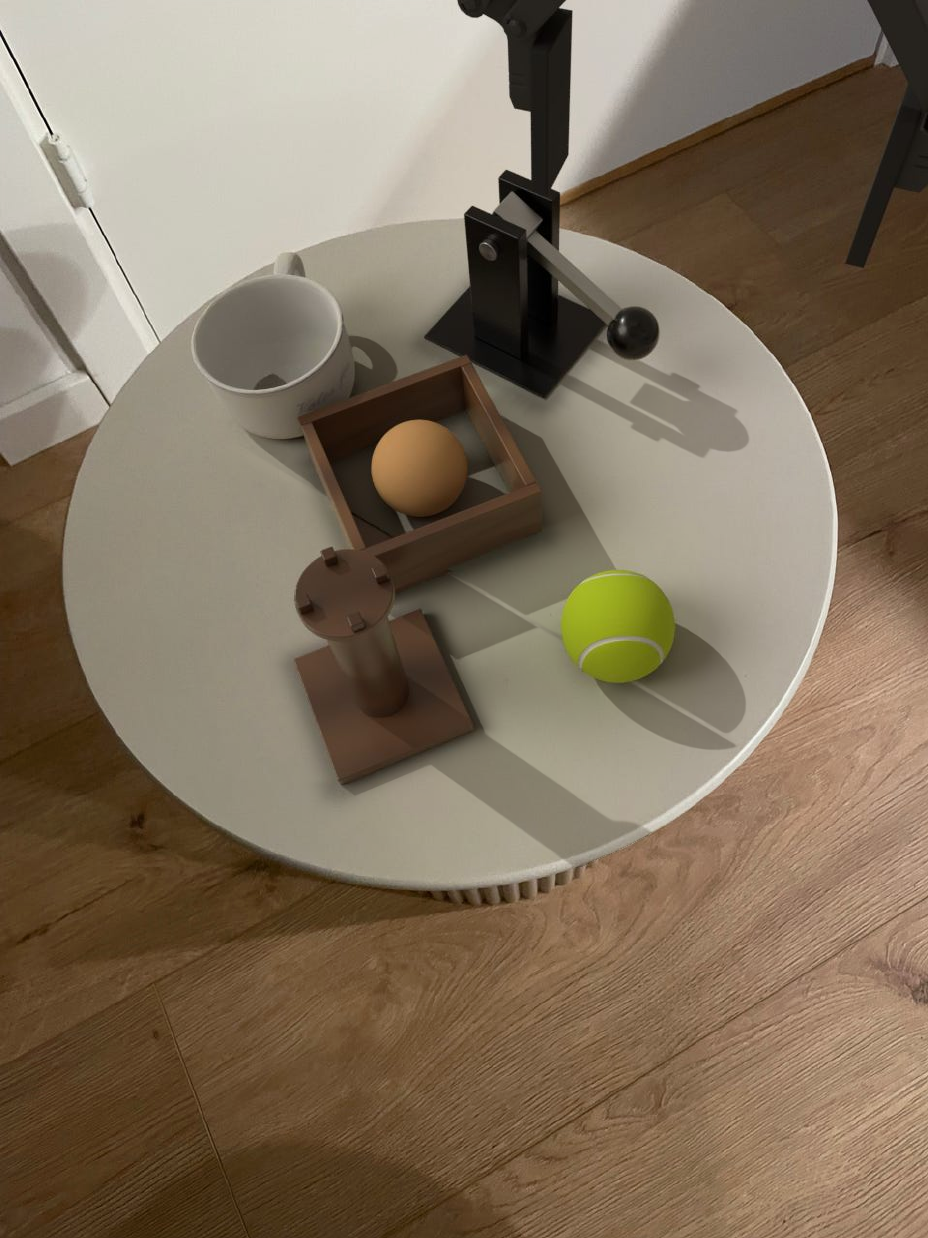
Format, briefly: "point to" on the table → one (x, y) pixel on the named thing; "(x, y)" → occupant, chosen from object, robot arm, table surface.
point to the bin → (451, 536)
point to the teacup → (275, 349)
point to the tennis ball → (617, 626)
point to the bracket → (515, 299)
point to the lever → (585, 287)
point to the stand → (371, 668)
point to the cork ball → (419, 468)
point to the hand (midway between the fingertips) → (700, 207)
